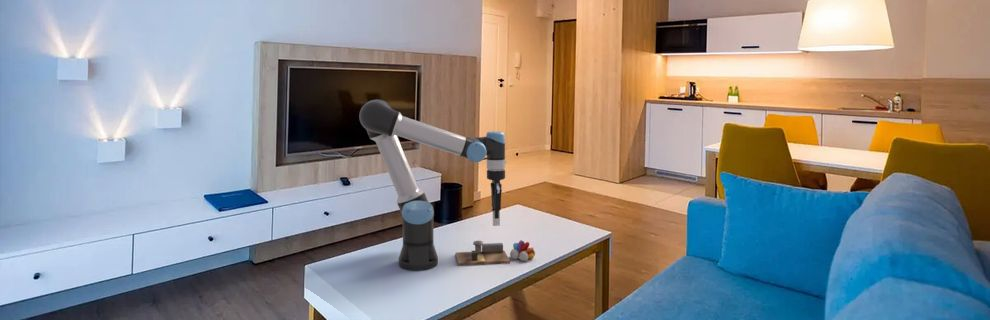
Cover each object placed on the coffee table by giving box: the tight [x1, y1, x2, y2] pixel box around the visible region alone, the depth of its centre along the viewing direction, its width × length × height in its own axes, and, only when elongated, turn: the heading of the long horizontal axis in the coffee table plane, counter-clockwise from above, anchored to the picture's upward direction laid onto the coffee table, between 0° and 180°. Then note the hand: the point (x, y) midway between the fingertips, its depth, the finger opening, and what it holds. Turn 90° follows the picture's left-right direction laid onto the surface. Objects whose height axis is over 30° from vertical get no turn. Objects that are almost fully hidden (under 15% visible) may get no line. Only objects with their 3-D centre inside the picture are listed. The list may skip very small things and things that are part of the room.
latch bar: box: [481, 242, 504, 253], centre depth 216 cm, size 8×2×3 cm, turn 99°
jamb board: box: [455, 240, 511, 267], centre depth 211 cm, size 20×13×5 cm, turn 99°
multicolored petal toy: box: [509, 239, 536, 262], centre depth 212 cm, size 8×10×7 cm
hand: (496, 225), depth 222 cm, fingers closed
